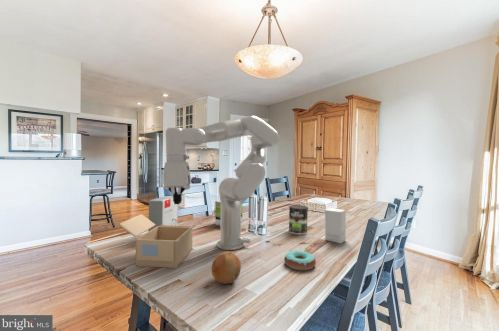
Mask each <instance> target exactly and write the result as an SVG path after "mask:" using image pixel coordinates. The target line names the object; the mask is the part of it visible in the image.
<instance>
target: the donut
mask: <svg viewBox="0 0 499 331" xmlns="http://www.w3.org/2000/svg"><path fill="white" fill-rule="evenodd" d="M283 260H284V262H285V263H284V264H285V265H286V266H287V267H289V268H290V269H293V270H297V271H309V270H312V269H313V268H314V267H315V266H316V263H317V262H316V258H315V256H314V255H313V254H311V253H310V252H307V251H303V250H291V251H288V252H287V253H286V254H285V255H284V259H283Z"/></svg>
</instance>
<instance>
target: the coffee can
mask: <svg viewBox="0 0 499 331" xmlns="http://www.w3.org/2000/svg"><path fill="white" fill-rule="evenodd" d="M288 208H289V209H288V214H289V215H288V216H289V217H288V232H289V233H290V234H293V235H299V236H301V235H302V236H303V235H307V234H308V218H309V217H308V214H309V212H308V211H309V210H308V209H309V207H308V206H306V205H301V204H292V205H289V206H288Z"/></svg>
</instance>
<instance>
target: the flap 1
mask: <svg viewBox="0 0 499 331" xmlns="http://www.w3.org/2000/svg"><path fill="white" fill-rule="evenodd" d="M118 226H119V227H121V228H123V229H124V230H125V231H127V233H129V234H130V235H132V237H134V238H136V237H137V238H138V237H139V236H140V235H141V234H142V235H143V233H146V232H148V229H150V228H152V227H153V226H155V224H154V223H153V222H152V221H150V220H149V217H146V216H145V215H144V214H142V213H141V214H140V213H139V215H136V216H134V217H132V218H129V219H127V220H124V221H123V222H120V223H119V224H118Z"/></svg>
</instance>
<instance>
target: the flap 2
mask: <svg viewBox="0 0 499 331" xmlns="http://www.w3.org/2000/svg"><path fill="white" fill-rule="evenodd" d="M207 216H208V215H207V214H205V215H204V216H203V217H201V218H200V219H199V220H198V221H196V223H195V224H193V225H192V226H191V228H190V229H189V230H188V231H187V232H185V233H184V234H183V235H182V236H181V237H180V238H179V239H181V238H182V237H183V236H184V235H185V234H187V233H188V232H189V231H190V230H191V229H192V230H193V229H194V228H195V227H196V226H197V225H198V224H199V223H200V222H201V221H203V220H204V219H205V218H206V217H207Z"/></svg>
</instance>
